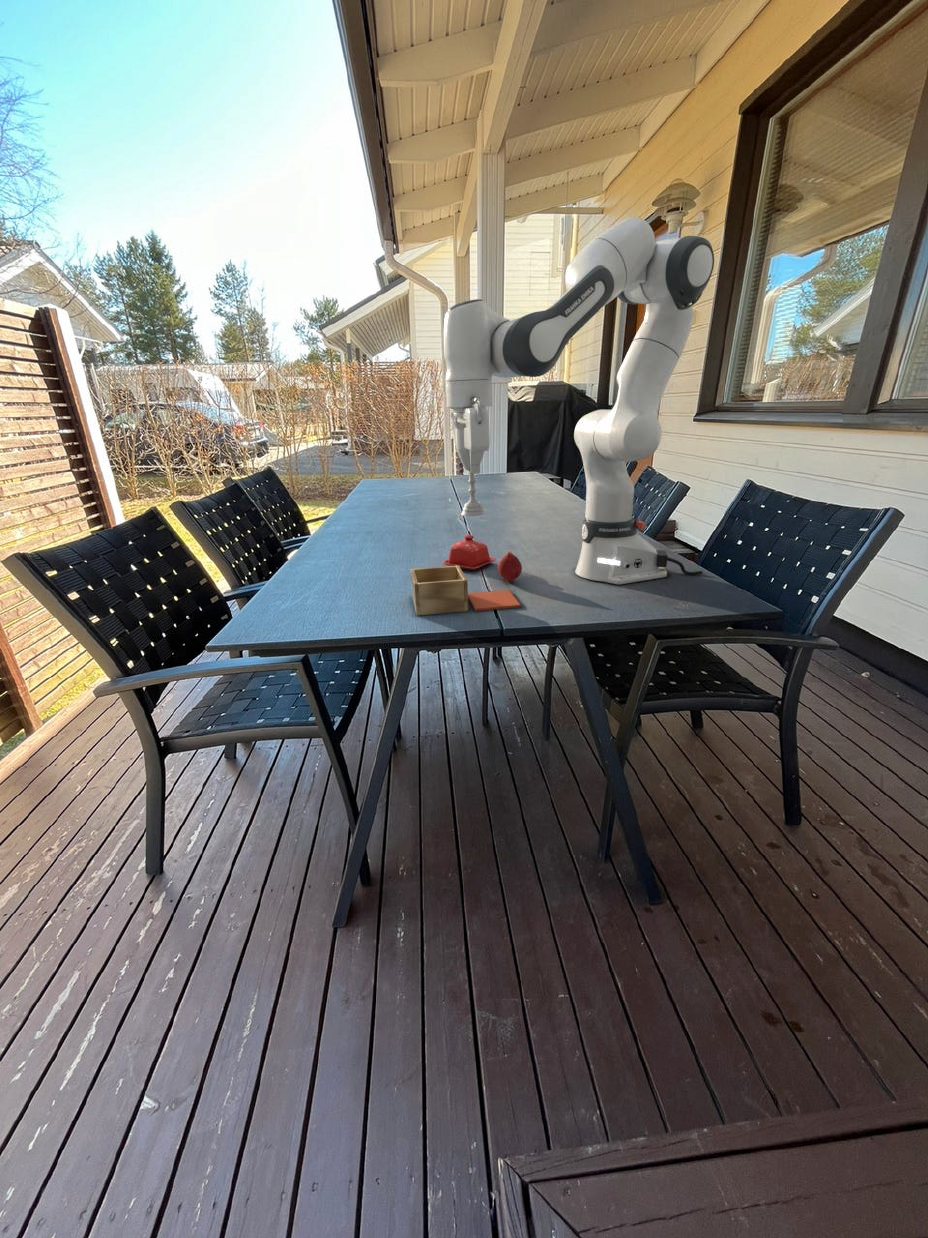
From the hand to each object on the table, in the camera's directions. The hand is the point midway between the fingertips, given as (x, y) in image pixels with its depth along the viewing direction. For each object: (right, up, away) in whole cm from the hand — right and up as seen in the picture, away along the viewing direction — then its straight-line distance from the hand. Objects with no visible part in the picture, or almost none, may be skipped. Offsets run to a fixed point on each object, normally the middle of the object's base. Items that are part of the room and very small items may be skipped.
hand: (471, 471), depth 107 cm
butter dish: (0, -15, +37) cm, 41 cm away
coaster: (+5, -26, +11) cm, 29 cm away
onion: (+10, -21, +23) cm, 33 cm away
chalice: (0, -8, +3) cm, 9 cm away
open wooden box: (-7, -27, +10) cm, 30 cm away
